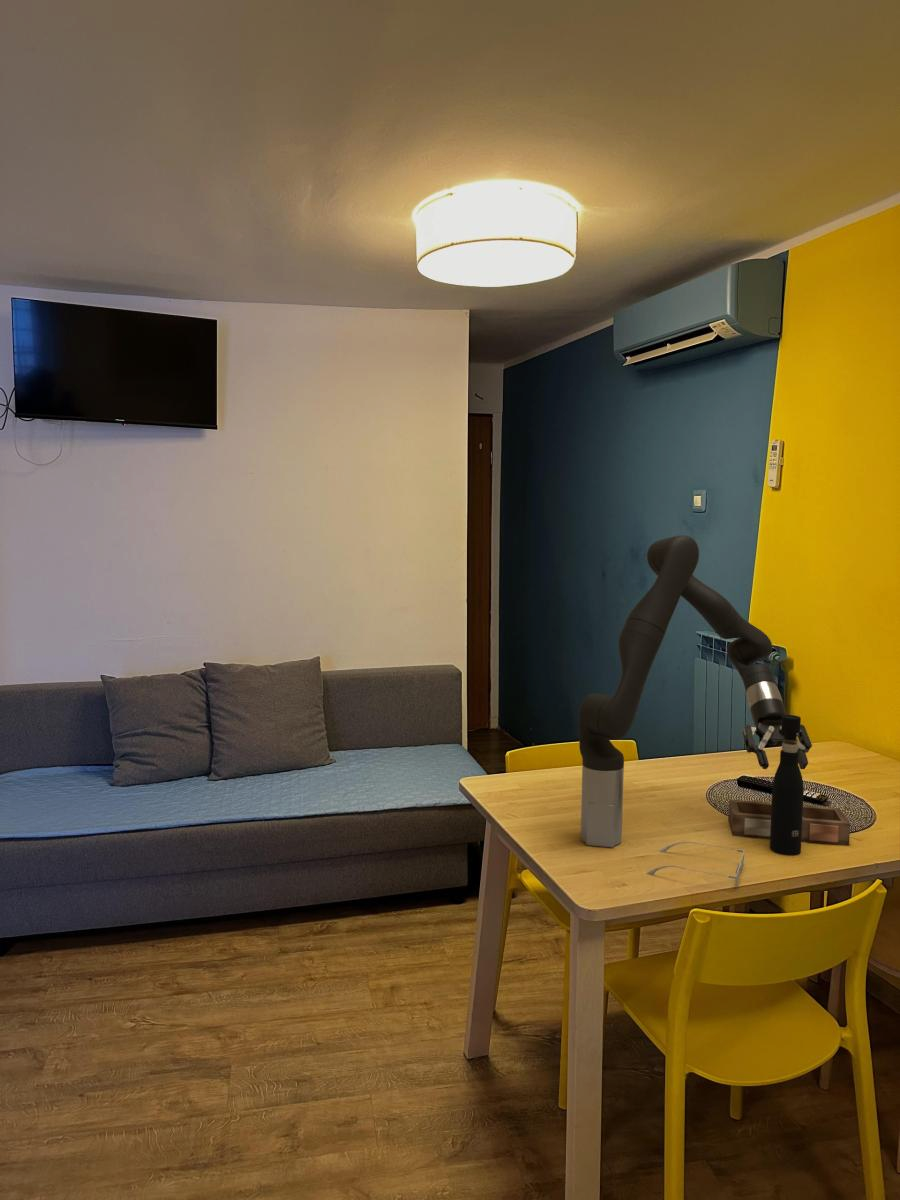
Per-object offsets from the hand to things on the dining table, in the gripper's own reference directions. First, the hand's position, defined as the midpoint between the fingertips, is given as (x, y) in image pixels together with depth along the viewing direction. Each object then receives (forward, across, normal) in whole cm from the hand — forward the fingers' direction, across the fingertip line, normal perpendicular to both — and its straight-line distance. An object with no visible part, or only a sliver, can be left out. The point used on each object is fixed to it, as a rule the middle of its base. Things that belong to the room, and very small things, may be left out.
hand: (785, 767), depth 190 cm
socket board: (+6, +5, +19) cm, 21 cm away
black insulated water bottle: (+14, 0, +12) cm, 18 cm away
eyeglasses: (+22, -23, +5) cm, 32 cm away
